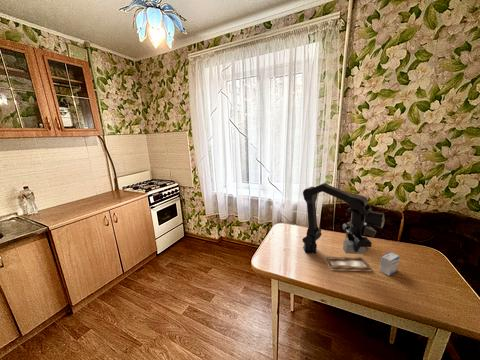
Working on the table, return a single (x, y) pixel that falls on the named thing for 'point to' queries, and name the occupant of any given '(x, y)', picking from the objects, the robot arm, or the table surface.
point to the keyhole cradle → (348, 263)
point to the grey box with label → (352, 248)
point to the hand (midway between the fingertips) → (354, 249)
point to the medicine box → (389, 263)
